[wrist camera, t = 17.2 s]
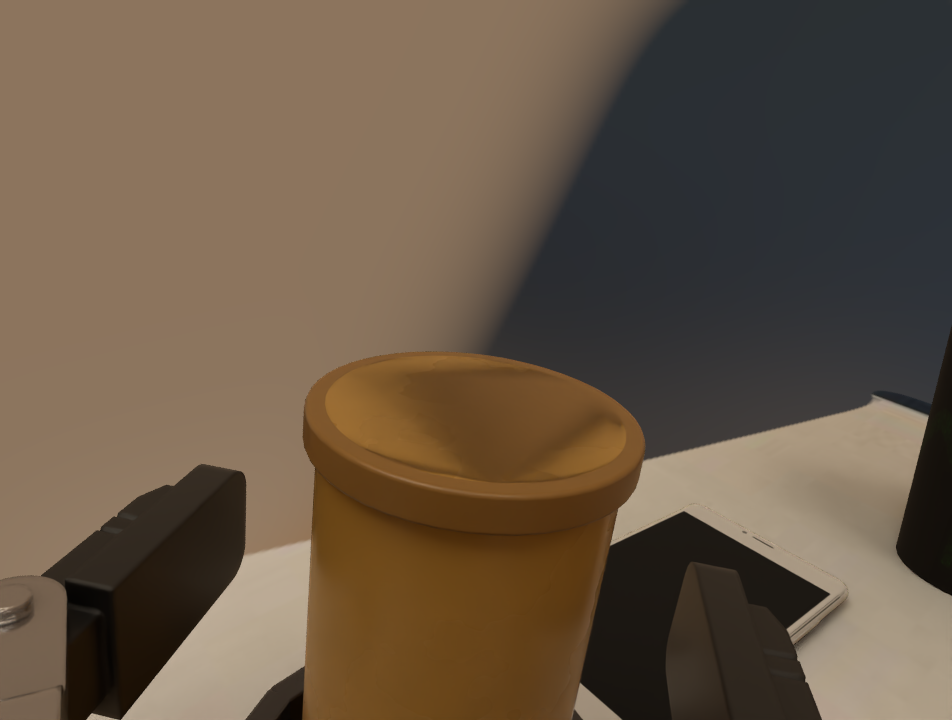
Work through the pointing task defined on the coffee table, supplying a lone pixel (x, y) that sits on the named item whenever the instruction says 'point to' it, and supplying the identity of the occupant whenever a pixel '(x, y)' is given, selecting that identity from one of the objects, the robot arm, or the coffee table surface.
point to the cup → (932, 492)
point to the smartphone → (656, 596)
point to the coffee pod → (458, 536)
